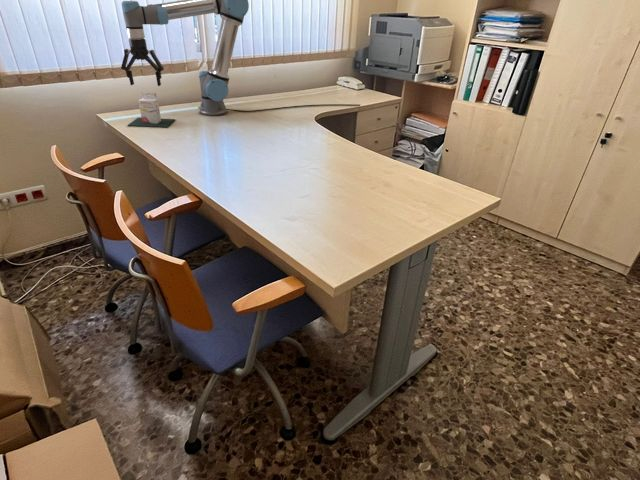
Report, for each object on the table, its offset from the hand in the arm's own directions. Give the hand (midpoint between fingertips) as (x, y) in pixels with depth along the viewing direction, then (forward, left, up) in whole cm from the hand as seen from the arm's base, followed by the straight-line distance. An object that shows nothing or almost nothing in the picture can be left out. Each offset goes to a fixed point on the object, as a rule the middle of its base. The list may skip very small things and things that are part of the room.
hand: (145, 85), depth 200 cm
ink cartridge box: (0, 0, -19) cm, 19 cm away
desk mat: (0, 0, -19) cm, 19 cm away
